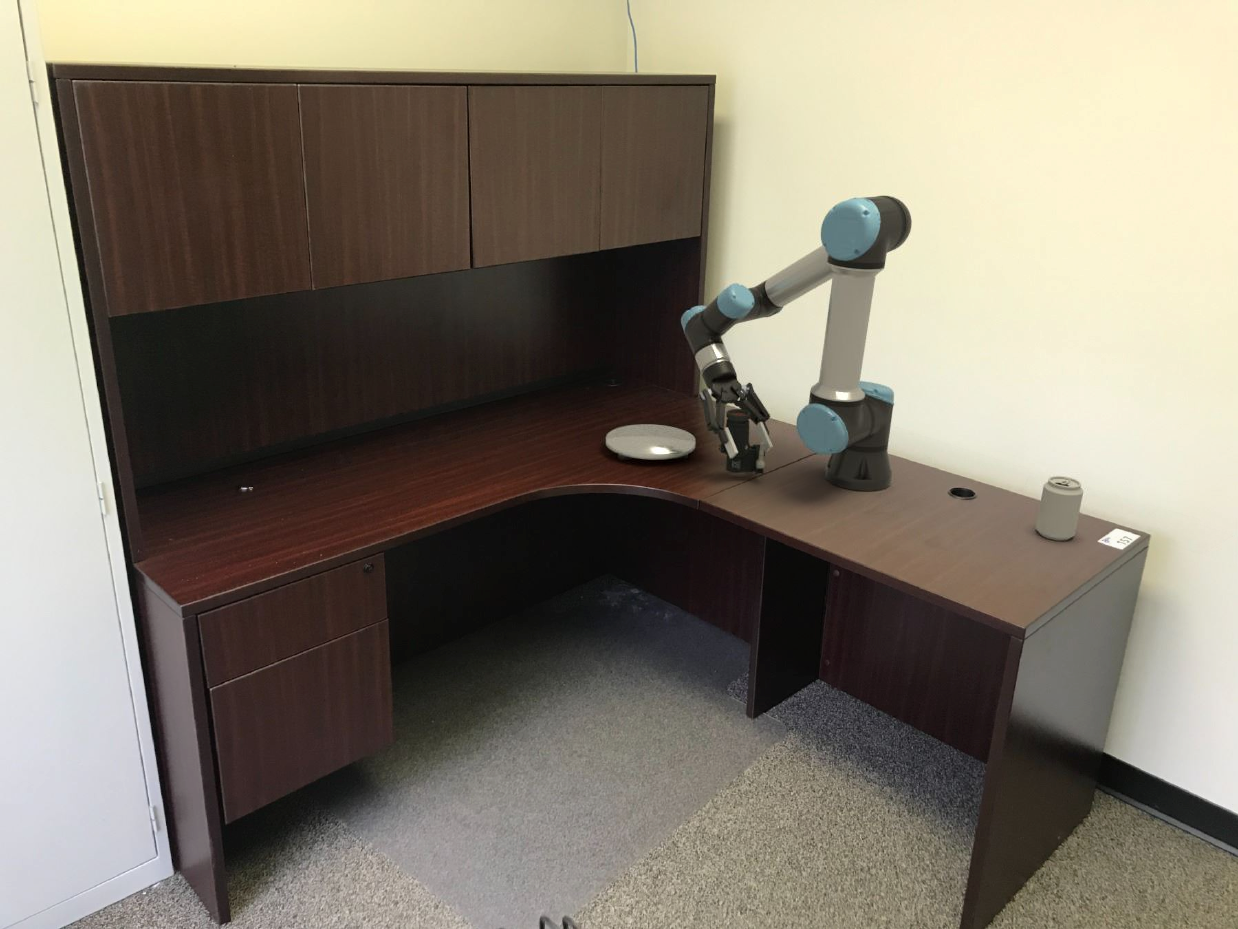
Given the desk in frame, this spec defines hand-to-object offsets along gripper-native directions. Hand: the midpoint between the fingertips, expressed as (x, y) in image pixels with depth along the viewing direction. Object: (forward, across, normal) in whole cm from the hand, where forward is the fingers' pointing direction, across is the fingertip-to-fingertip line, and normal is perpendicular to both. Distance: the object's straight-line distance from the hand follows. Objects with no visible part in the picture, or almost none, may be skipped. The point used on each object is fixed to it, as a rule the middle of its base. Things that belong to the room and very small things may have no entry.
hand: (751, 452), depth 229 cm
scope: (+2, +1, -6) cm, 6 cm away
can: (+42, -41, +30) cm, 66 cm away
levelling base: (-14, +10, -24) cm, 30 cm away
